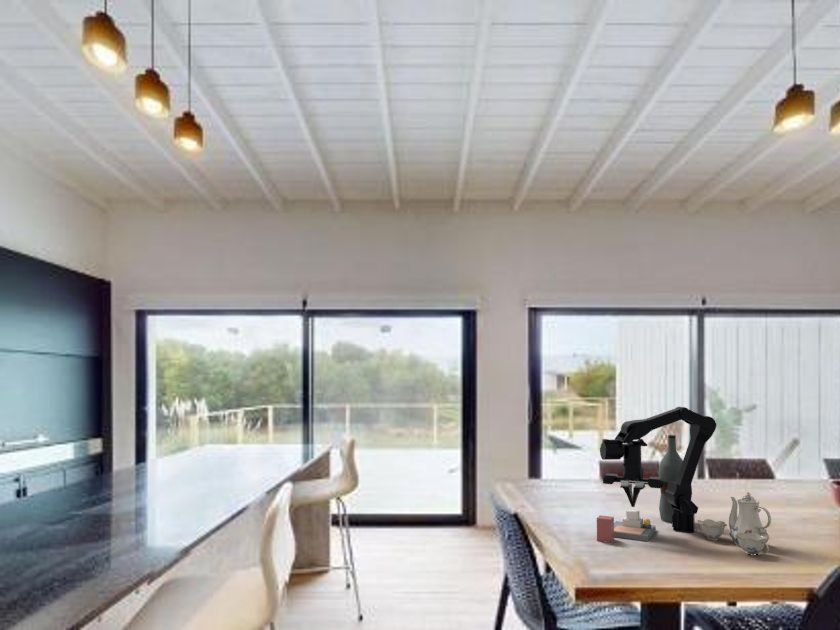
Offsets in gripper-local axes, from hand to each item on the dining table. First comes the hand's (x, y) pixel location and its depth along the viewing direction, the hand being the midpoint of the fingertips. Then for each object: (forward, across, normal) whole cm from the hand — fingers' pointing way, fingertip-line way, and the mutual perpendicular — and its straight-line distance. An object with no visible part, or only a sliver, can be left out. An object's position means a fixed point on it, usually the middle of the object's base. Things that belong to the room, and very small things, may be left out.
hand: (633, 506), depth 230 cm
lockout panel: (+8, 0, +4) cm, 9 cm away
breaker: (+4, 0, 0) cm, 4 cm away
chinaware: (+8, -33, +3) cm, 34 cm away
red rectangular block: (+8, +6, +17) cm, 19 cm away
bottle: (+8, -10, -22) cm, 26 cm away
